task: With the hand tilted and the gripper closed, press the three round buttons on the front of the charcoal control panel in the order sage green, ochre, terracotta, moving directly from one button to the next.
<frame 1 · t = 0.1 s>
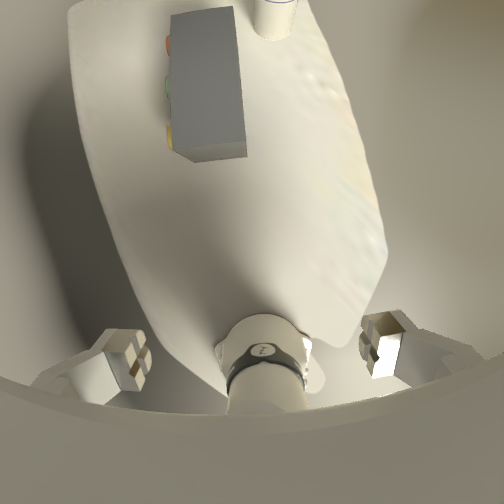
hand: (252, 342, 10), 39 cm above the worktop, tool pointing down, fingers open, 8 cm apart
control panel: (219, 100, 44), on the worktop
cylindrical container: (272, 27, 40), on the worktop
terracotta button: (179, 44, 33), point 9 cm above the worktop, slide at 0.0 cm
sage green button: (179, 86, 35), point 9 cm above the worktop, slide at 0.0 cm
ochre button: (181, 135, 36), point 9 cm above the worktop, slide at 0.0 cm
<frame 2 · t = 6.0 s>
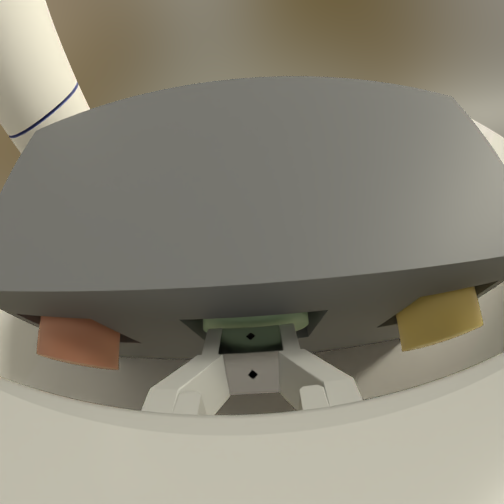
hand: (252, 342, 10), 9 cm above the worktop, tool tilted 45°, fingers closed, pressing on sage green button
control panel: (257, 289, 21), on the worktop
cylindrical container: (100, 198, 26), on the worktop
terracotta button: (79, 328, 11), point 9 cm above the worktop, slide at 0.0 cm
sage green button: (253, 289, 11), point 9 cm above the worktop, slide at 1.6 cm, touching gripper
ochre button: (436, 304, 10), point 9 cm above the worktop, slide at 0.0 cm
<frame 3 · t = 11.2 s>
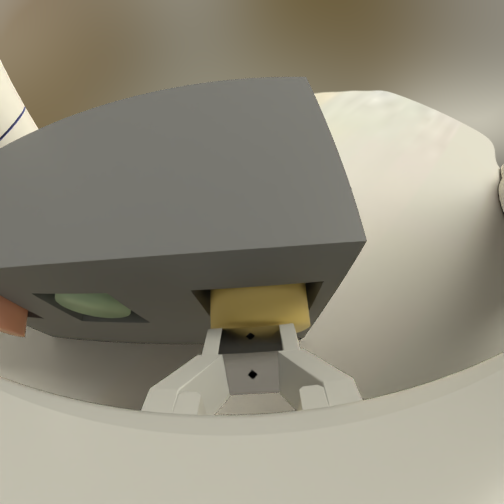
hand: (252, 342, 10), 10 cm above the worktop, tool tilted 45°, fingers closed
control panel: (159, 282, 22), on the worktop
cylindrical container: (54, 202, 28), on the worktop
terracotta button: (2, 304, 12), point 9 cm above the worktop, slide at 0.0 cm
sage green button: (96, 276, 12), point 9 cm above the worktop, slide at 1.7 cm
ochre button: (258, 293, 12), point 9 cm above the worktop, slide at 0.5 cm, touching gripper
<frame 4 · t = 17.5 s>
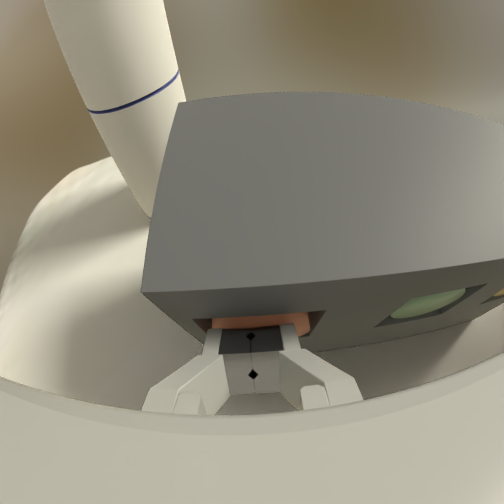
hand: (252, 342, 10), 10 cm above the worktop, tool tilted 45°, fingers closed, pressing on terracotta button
control panel: (359, 283, 21), on the worktop
cylindrical container: (173, 193, 27), on the worktop
terracotta button: (258, 298, 12), point 9 cm above the worktop, slide at 1.3 cm, touching gripper
sage green button: (421, 274, 12), point 9 cm above the worktop, slide at 1.7 cm
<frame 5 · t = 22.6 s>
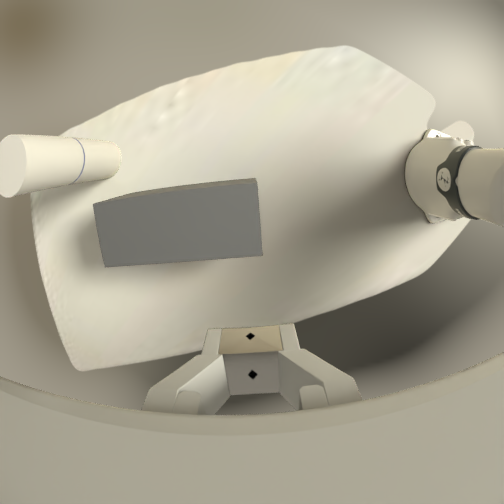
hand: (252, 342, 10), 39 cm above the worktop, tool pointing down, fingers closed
control panel: (193, 207, 47), on the worktop
cylindrical container: (105, 160, 45), on the worktop
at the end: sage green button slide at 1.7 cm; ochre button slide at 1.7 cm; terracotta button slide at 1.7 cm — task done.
